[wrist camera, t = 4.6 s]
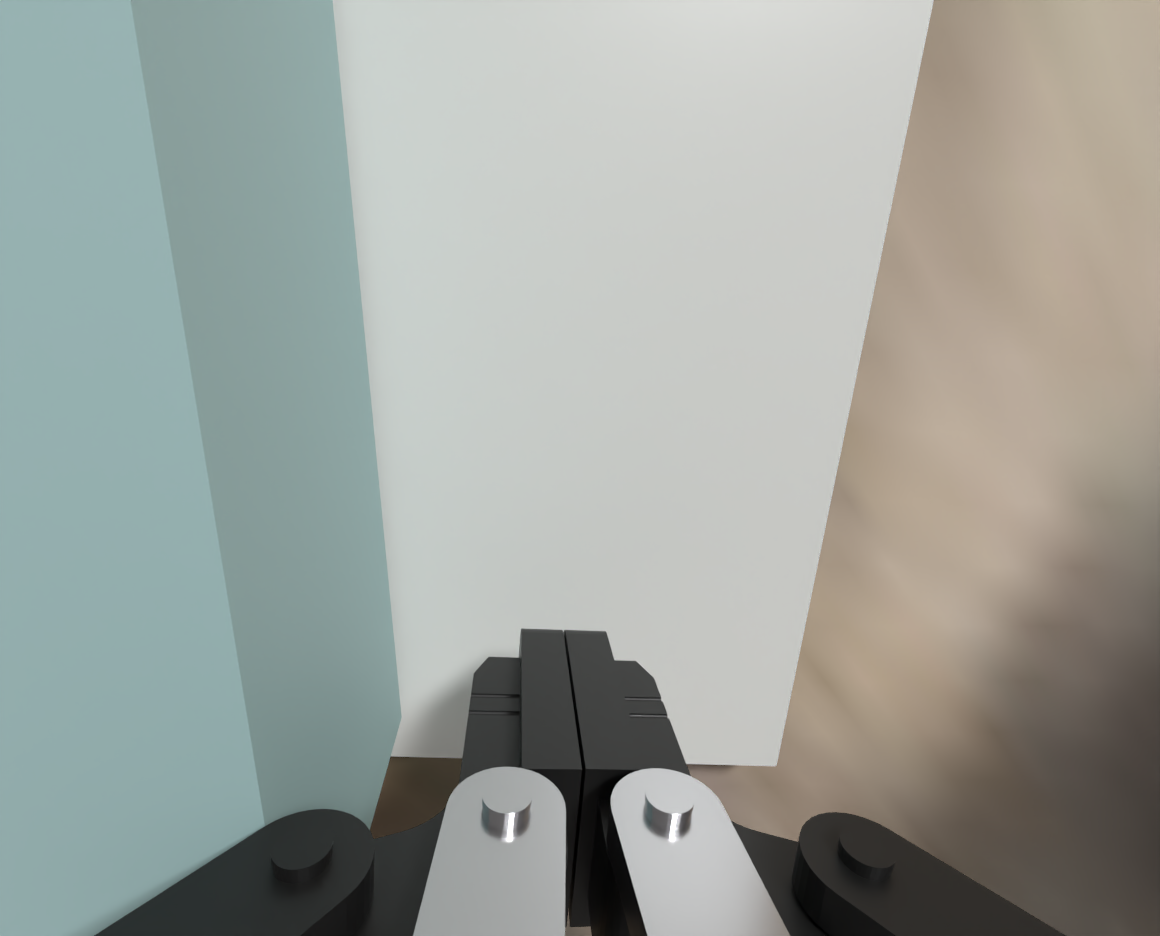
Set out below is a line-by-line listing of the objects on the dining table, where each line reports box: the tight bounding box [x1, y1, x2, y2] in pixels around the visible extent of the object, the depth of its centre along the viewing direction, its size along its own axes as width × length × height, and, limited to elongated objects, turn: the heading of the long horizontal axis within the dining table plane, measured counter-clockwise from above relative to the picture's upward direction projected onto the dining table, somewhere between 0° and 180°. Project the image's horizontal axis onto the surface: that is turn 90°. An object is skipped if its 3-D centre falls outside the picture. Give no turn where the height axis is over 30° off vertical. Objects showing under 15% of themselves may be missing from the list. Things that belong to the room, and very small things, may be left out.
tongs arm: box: [0, 0, 402, 936], centre depth 7 cm, size 17×4×7 cm, turn 1°
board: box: [333, 0, 934, 766], centre depth 11 cm, size 17×20×1 cm
